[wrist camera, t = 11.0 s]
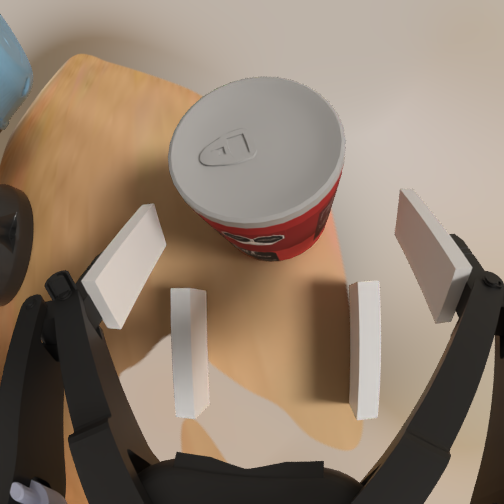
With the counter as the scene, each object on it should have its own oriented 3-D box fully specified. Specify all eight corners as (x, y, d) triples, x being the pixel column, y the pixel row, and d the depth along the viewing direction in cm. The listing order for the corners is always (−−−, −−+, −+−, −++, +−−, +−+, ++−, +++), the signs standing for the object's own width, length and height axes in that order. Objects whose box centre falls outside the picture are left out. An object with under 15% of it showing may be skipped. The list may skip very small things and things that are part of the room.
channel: (366, 402, 19) (377, 417, 16) (193, 402, 21) (175, 416, 18) (367, 284, 21) (379, 280, 17) (189, 290, 23) (170, 288, 19)
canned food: (207, 203, 24) (142, 134, 13) (289, 150, 24) (277, 53, 13) (258, 284, 22) (219, 265, 11) (347, 224, 22) (383, 156, 11)
